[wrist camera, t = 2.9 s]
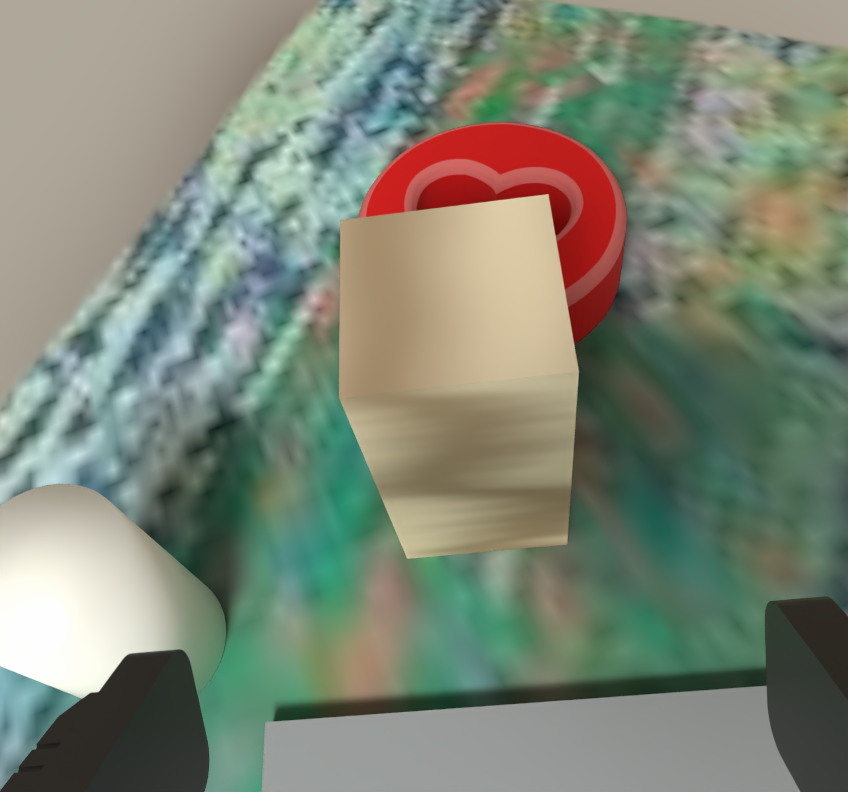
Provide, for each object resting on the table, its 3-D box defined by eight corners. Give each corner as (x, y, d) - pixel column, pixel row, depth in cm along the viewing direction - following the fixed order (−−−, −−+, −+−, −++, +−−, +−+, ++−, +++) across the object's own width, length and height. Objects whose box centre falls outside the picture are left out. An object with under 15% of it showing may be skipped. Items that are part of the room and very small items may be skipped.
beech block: (547, 405, 28) (548, 194, 19) (567, 544, 25) (578, 372, 17) (402, 420, 28) (340, 220, 20) (407, 558, 26) (339, 396, 17)
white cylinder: (247, 590, 26) (157, 503, 20) (192, 735, 24) (73, 686, 18) (126, 561, 27) (6, 469, 21) (63, 697, 25) (-90, 638, 19)
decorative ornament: (383, 394, 29) (366, 345, 26) (361, 200, 34) (345, 142, 31) (650, 348, 29) (661, 293, 26) (588, 158, 34) (592, 96, 31)
